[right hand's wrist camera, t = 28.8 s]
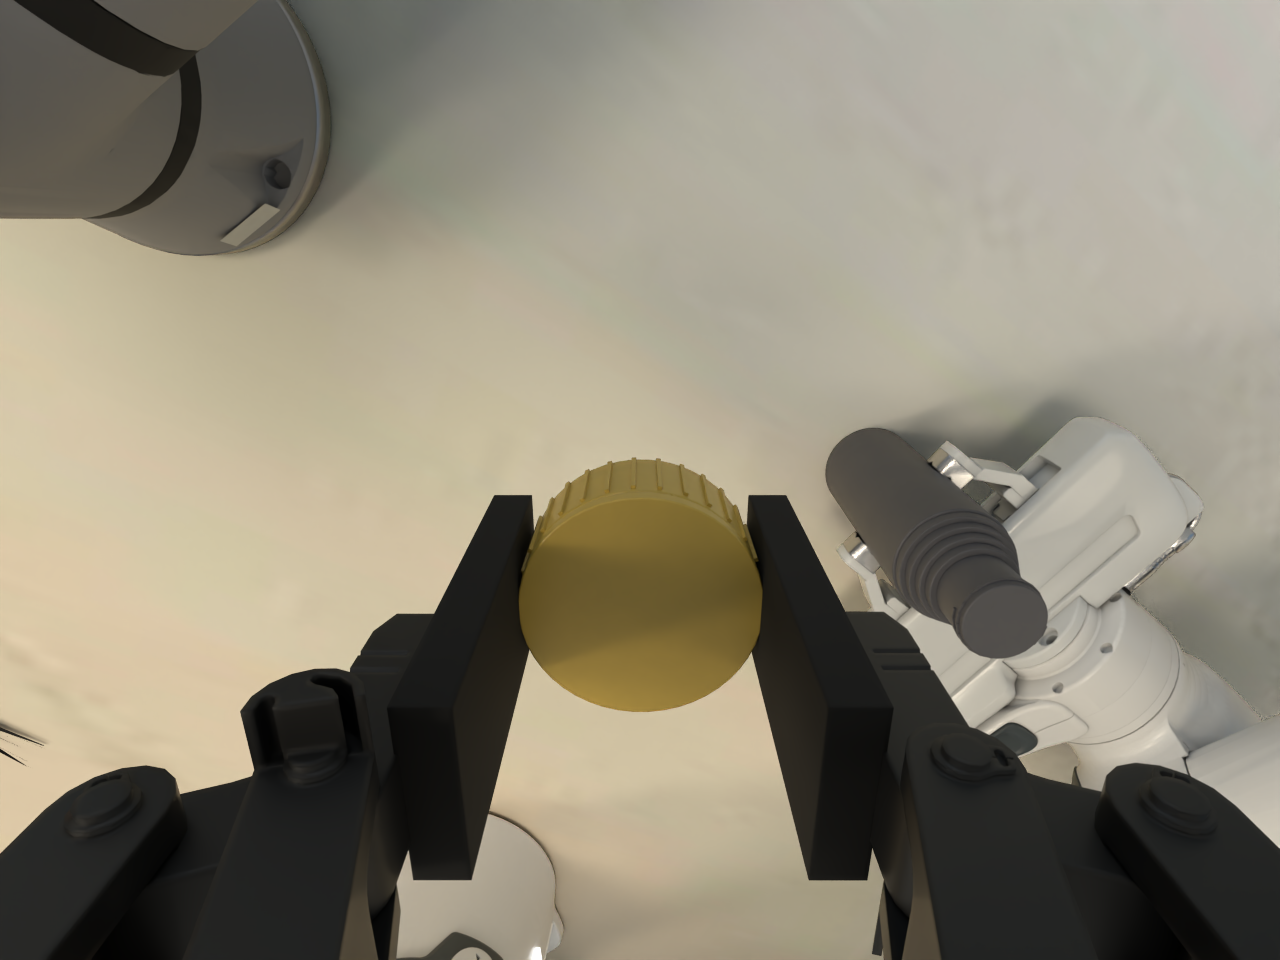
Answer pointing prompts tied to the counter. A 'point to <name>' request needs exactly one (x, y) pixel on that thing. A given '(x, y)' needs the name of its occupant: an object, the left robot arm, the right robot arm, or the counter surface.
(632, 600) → the cap
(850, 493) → the bottle
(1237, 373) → the counter surface
